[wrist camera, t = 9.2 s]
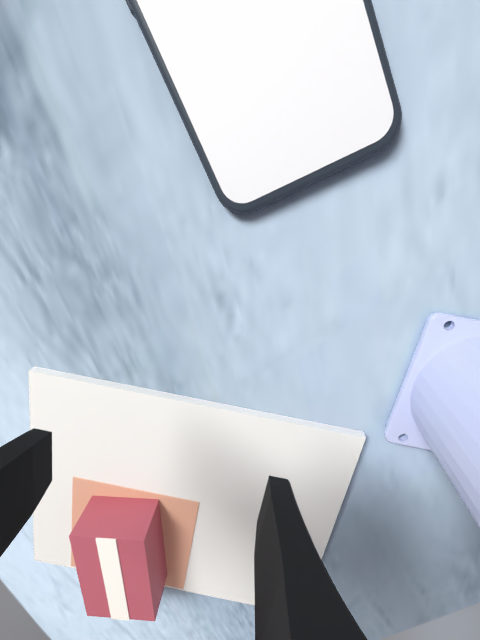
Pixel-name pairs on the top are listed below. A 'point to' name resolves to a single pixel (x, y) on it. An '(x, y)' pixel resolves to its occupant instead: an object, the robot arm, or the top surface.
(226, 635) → the top surface
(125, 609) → the card box
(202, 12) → the smartphone
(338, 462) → the mat
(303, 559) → the robot arm
